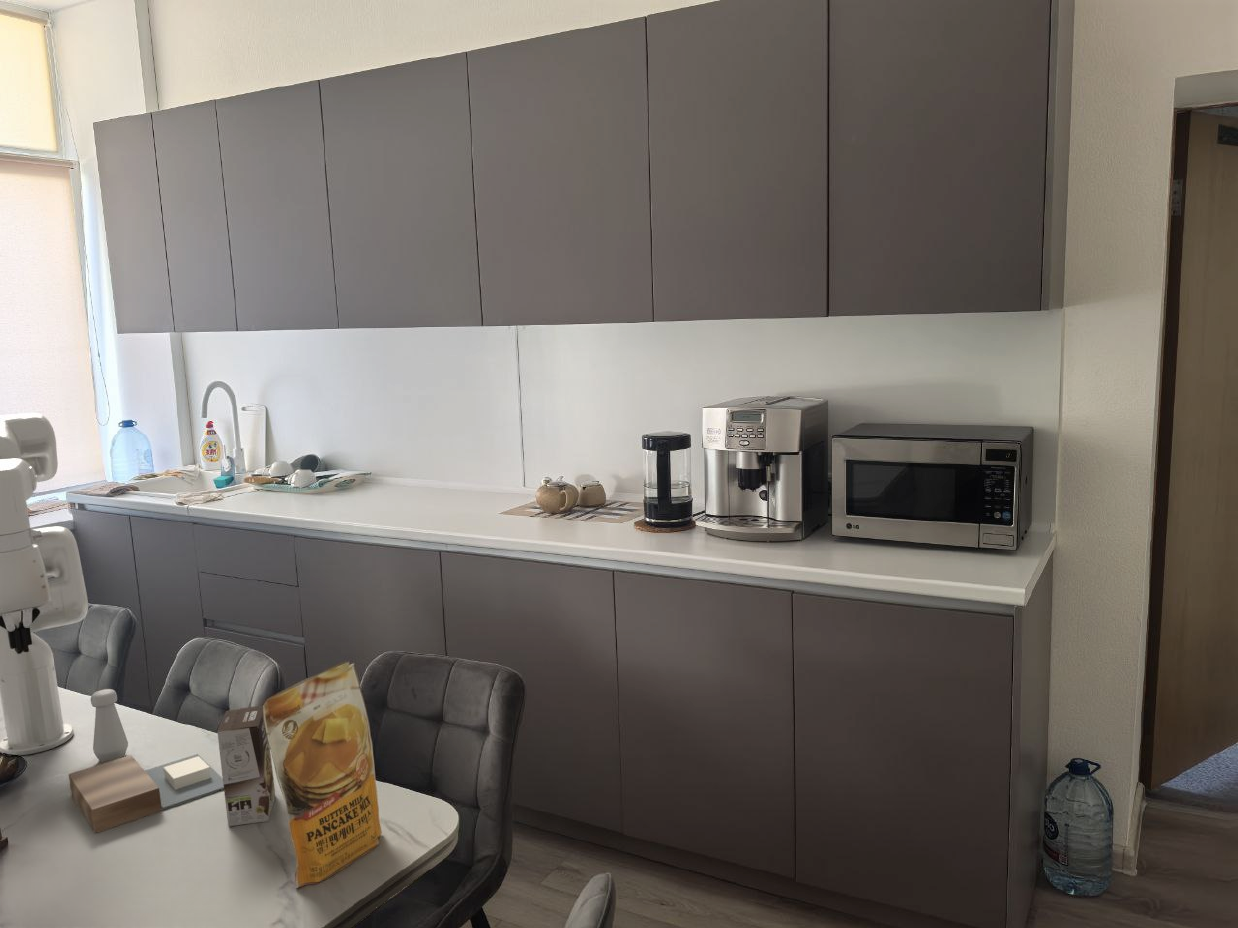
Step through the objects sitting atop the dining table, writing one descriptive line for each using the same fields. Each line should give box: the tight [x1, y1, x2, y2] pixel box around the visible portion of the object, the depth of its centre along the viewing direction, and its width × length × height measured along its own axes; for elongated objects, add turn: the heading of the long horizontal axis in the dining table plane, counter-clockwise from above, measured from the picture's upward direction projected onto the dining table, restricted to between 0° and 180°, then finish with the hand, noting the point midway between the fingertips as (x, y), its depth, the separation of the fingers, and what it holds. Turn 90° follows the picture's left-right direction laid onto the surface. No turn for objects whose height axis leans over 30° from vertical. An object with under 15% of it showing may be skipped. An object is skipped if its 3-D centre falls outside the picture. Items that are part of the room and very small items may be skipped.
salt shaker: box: [90, 688, 129, 764], centre depth 184 cm, size 6×6×13 cm
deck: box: [68, 754, 163, 834], centre depth 168 cm, size 17×10×4 cm, turn 40°
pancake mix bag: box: [262, 660, 383, 889], centre depth 145 cm, size 7×19×28 cm, turn 147°
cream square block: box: [163, 755, 211, 790], centre depth 175 cm, size 6×6×2 cm
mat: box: [144, 753, 224, 811], centre depth 174 cm, size 17×11×1 cm, turn 40°
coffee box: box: [217, 705, 276, 827], centre depth 162 cm, size 9×6×16 cm
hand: (21, 650), depth 164 cm, fingers closed
